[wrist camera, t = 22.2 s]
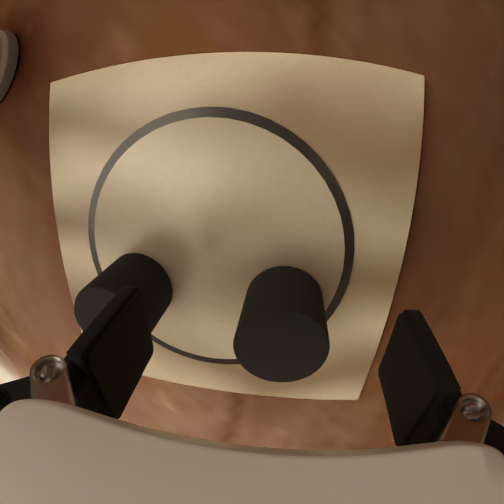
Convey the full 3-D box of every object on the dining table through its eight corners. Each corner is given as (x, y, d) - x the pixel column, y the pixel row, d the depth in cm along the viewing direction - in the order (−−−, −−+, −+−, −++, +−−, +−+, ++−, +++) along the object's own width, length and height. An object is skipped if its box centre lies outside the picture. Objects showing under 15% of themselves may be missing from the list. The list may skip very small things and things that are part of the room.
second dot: (247, 262, 15) (233, 305, 11) (327, 268, 15) (338, 313, 11) (244, 327, 17) (232, 378, 13) (316, 333, 16) (320, 385, 13)
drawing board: (54, 82, 13) (48, 82, 12) (421, 76, 11) (426, 75, 10) (93, 358, 20) (90, 363, 20) (357, 396, 19) (357, 401, 18)
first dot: (106, 249, 16) (65, 281, 12) (170, 255, 15) (136, 293, 12) (117, 309, 17) (84, 347, 14) (176, 319, 17) (150, 364, 13)
